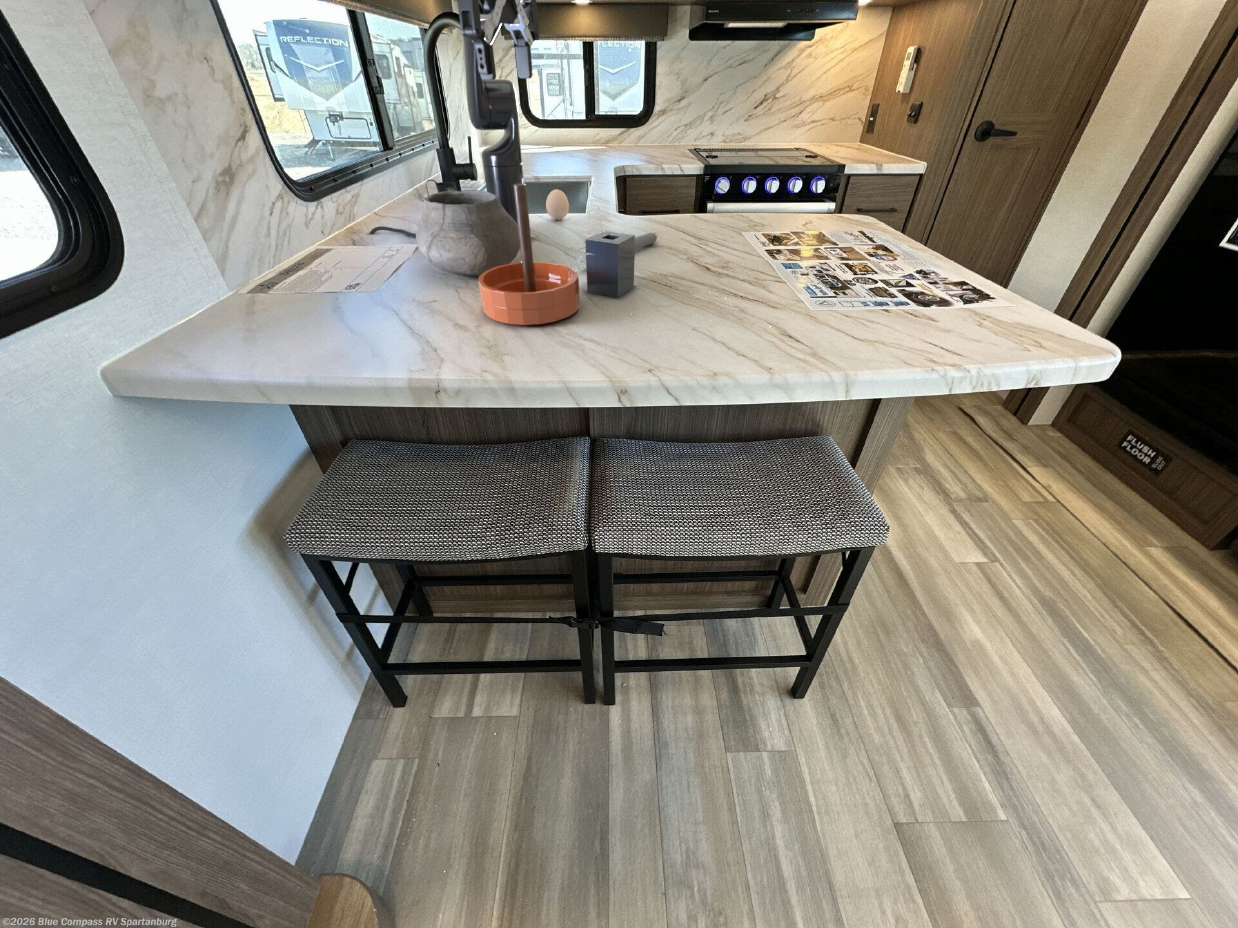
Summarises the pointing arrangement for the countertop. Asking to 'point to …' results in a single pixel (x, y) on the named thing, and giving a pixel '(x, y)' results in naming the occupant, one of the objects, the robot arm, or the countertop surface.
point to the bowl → (529, 293)
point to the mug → (443, 186)
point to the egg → (557, 204)
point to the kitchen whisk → (639, 242)
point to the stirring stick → (525, 236)
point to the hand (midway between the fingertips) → (507, 79)
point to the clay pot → (466, 232)
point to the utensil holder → (610, 263)
